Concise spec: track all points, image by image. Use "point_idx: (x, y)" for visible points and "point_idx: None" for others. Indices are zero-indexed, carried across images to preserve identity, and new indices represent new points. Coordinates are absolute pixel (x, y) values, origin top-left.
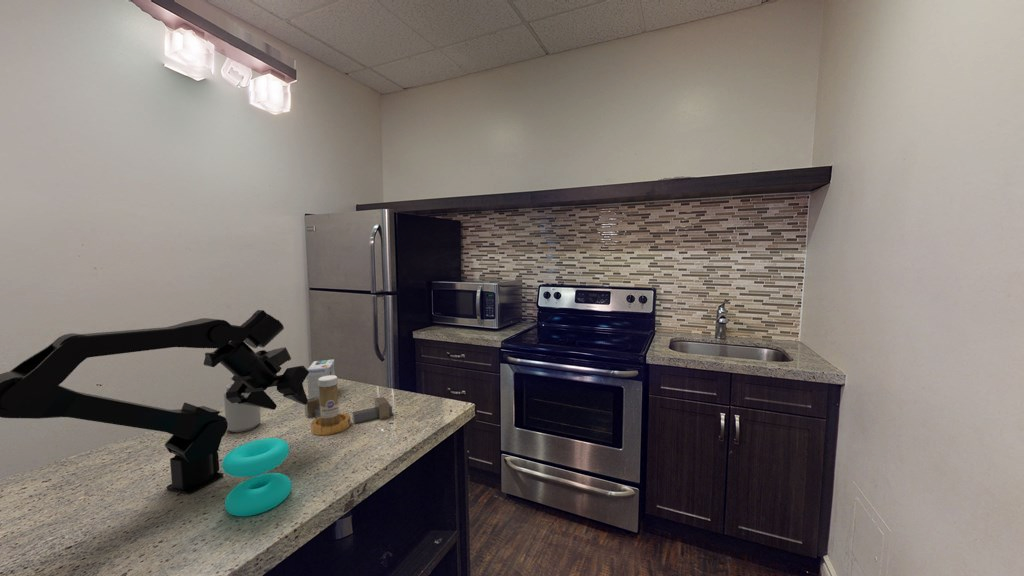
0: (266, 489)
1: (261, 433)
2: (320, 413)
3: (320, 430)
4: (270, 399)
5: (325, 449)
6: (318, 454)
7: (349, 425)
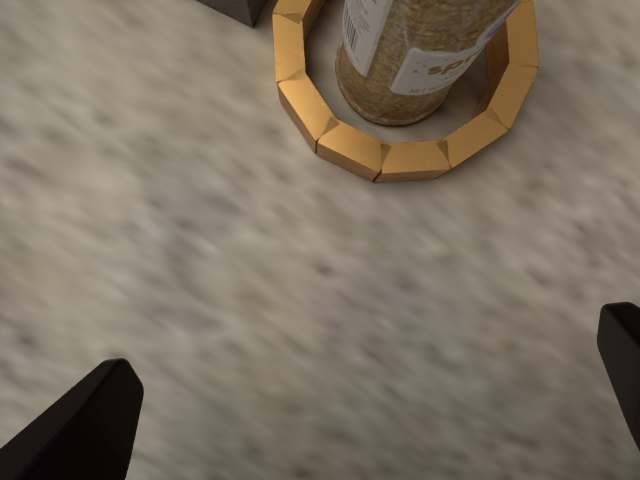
0: None
1: (8, 287)
2: (378, 70)
3: (437, 174)
4: (48, 466)
5: None
6: None
7: None
